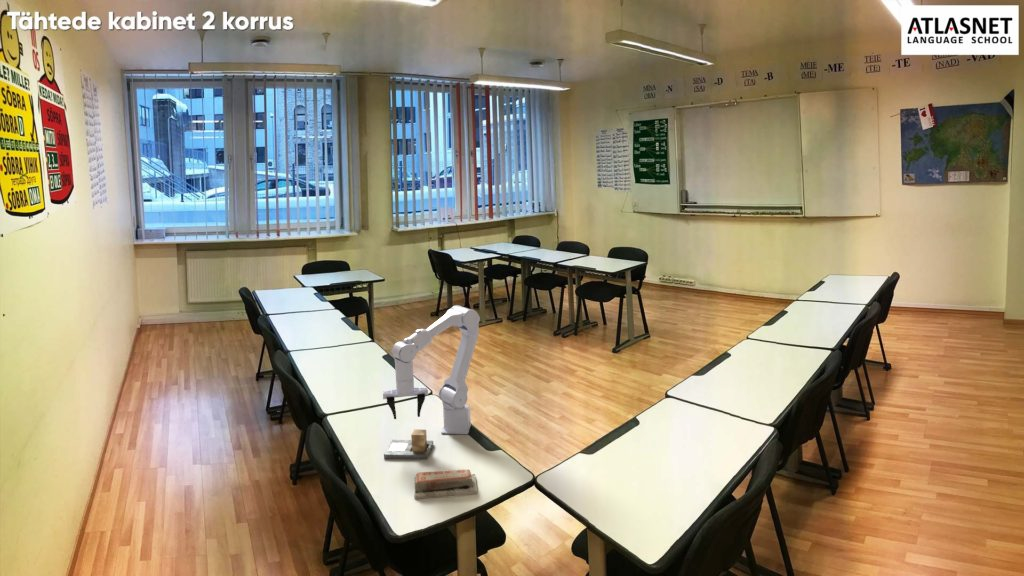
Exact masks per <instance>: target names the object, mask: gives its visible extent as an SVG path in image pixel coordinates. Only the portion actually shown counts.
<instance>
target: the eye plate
mask: <svg viewBox="0 0 1024 576" xmlns="http://www.w3.org/2000/svg"><path fill="white" fill-rule="evenodd" d="M433 447H434V440H427V451H426V452H413V451H412V439H391V441H390V443H389V445H388V446H387V448H386V449H385V452H384V453H383V459H386V460H390V459H391V460H393V459H394V460H423V461H424V460H428V458H429V456H430V454H431V452H432V449H433Z"/></svg>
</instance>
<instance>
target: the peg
mask: <svg viewBox="0 0 1024 576" xmlns="http://www.w3.org/2000/svg"><path fill="white" fill-rule="evenodd" d="M410 436H411V439H410V440H412V451H413V452H426V451H427V441H428V440H427V439H428V438H427V429H418V428H417V429H415V428H414V429H413V430H412V433H411V435H410Z"/></svg>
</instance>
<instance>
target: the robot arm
mask: <svg viewBox="0 0 1024 576" xmlns="http://www.w3.org/2000/svg"><path fill="white" fill-rule="evenodd" d="M479 315H480V314H479V313H478V312H477V311H476V310H475V309H472V308H471V309H470V308H468V307H464V306H461V305H459V304H456V305H455V304H454V305H453V306H452V307H451V308H449V309H447V311H446V312H445V314H444V315H443V316H441V317H440V318H439V319H437V320H436V321H435V322H433V323H432V324H431V325H429V326H428V327H427V328H420V329H418V328H417V329H416V330H415V331H414V333H413V334H411V335H409V336H408V337H405V338H404V339H403V341H402V340H401V341H398V342H396V343H394V345H393V346H392V349H391V351H390V356H392V357H393V359H394V369H395V384H396V389H395V388H394V389H391V390H386V391H383V392H382V399H383V400H386V404H387V405H388V407H389V408H390V410H391V413H392V416H393V419H394V420H397V411H396V403H395V402H396V401H395V398H404V397H405V398H406V397H415V396H416V403H417V406H416V408H417V409H416V411H417V413H416V414H417V418H419V417H421V411H422V409H423V405H424V402H425V400H426V396H429V388H428V387H415V380H414V379H415V378H414V361H413V360H414V359H415V358H416V355H417V354H418V353H419V352H420V351H422V350H423V349H424V348H426V347H427V346H429V345H430V344H431V343H432V339H433V338H434V337H436V336H437V335H439V334H440V333H442V332H444V331H445V330H447V329H448V328H451V327H458V329H459V331H460V333H461V338H460V341H459V344H458V348H457V351H456V354H455V358H454V361H453V364H452V365H453V366H452V367H451V368H452V369H451V372H450V375H449V377H448V378H446V379H445V380H444V382H443V384H442V386H441V387H440V389H439V390H438V398H439V399H440V400H441V401H442V402H441V403H442V409H443V410H442V411H443V414H442V415H443V416H442V417H443V427H442V429H441V431H440V433H441V434H443V435H444V434H445V435H446V434H448V435H451V434H452V435H455V434H456V435H468V434H469V432H470V429H471V427H472V423H471V422H472V421H471V406H470V405H467V402H468V391H469V387H468V385H467V383H466V379H467V375H468V372H469V369H470V366H471V365H470V364H471V362H472V358H473V355H474V352H475V348H476V345H477V341H478V337H479V334H480V331H479V328H480V327H479V323H480V320H481V317H480V316H479Z"/></svg>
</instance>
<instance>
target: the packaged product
mask: <svg viewBox="0 0 1024 576" xmlns="http://www.w3.org/2000/svg"><path fill="white" fill-rule="evenodd" d="M477 494H478V486H477V477H476V474H474V473H473V474H472V472H471V470H470V469H467V468H466V469H451V470H435V471H421V472H417V473H416V475H415V477H414V493H413V497H414V499H415V500H417V499H419V500H420V499H431V498H432V499H433V498H450V497H461V496H462V497H463V496H473V495H477Z"/></svg>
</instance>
